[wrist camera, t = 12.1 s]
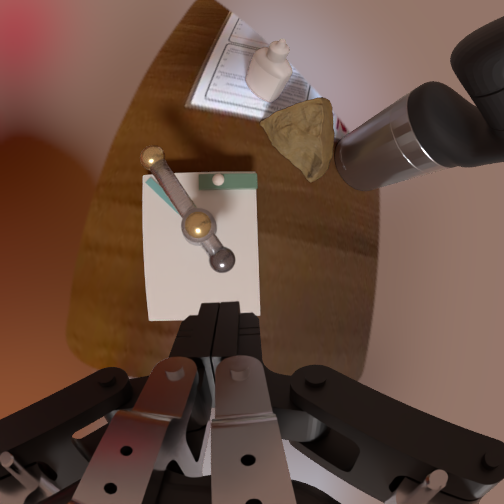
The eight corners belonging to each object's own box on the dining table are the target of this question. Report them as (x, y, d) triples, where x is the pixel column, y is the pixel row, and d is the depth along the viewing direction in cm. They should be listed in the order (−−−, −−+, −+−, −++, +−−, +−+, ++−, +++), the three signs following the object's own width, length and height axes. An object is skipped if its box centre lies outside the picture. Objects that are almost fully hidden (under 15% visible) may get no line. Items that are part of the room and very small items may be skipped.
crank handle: (237, 258, 32) (245, 262, 26) (214, 275, 31) (217, 282, 25) (164, 151, 30) (156, 133, 24) (141, 167, 29) (129, 151, 23)
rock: (347, 180, 36) (339, 113, 35) (337, 178, 29) (327, 94, 27) (275, 185, 41) (269, 122, 39) (249, 185, 34) (243, 109, 32)
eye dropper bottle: (252, 105, 36) (271, 58, 24) (243, 76, 36) (258, 25, 24) (280, 102, 37) (308, 58, 25) (270, 73, 36) (292, 25, 24)
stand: (251, 176, 36) (258, 166, 32) (256, 310, 37) (264, 320, 32) (146, 179, 34) (138, 170, 29) (152, 315, 35) (145, 326, 30)
